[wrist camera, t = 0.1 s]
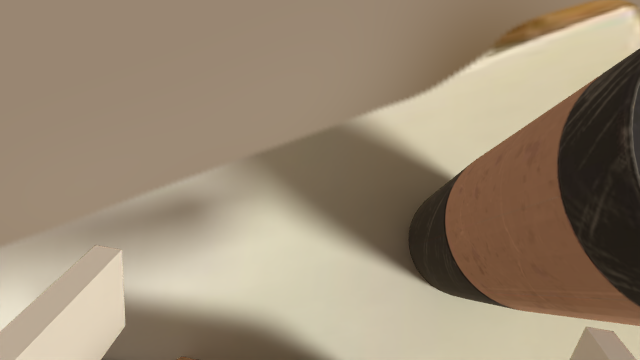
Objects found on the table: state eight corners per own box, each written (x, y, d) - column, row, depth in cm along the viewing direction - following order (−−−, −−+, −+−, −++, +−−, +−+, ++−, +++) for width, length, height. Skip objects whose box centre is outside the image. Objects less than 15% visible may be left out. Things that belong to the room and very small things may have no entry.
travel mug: (391, 280, 27) (595, 286, 8) (419, 172, 29) (644, -45, 10) (505, 317, 27) (1016, 416, 8) (527, 204, 29) (988, 49, 9)
